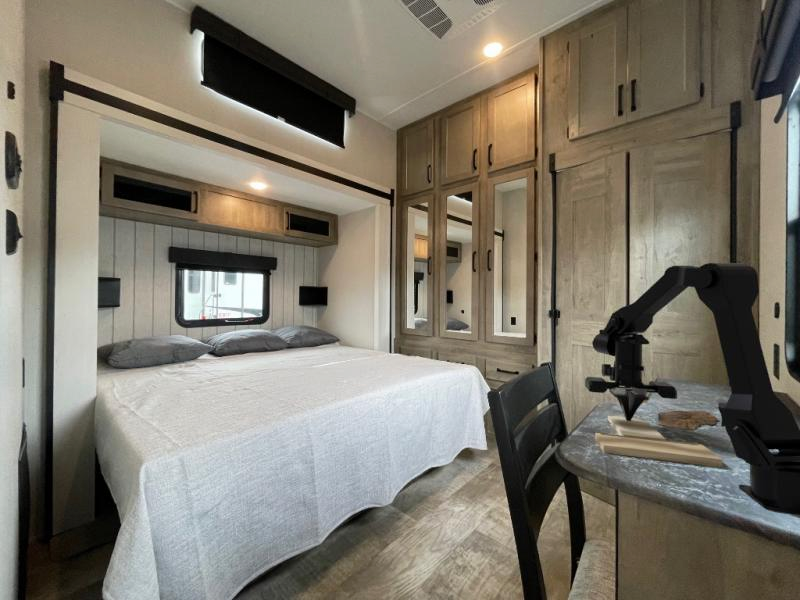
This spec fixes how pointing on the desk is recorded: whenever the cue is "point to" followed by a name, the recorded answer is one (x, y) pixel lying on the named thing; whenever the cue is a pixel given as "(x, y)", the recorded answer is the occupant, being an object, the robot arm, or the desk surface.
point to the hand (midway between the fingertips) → (627, 420)
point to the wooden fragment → (686, 419)
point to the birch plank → (634, 428)
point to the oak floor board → (657, 449)
